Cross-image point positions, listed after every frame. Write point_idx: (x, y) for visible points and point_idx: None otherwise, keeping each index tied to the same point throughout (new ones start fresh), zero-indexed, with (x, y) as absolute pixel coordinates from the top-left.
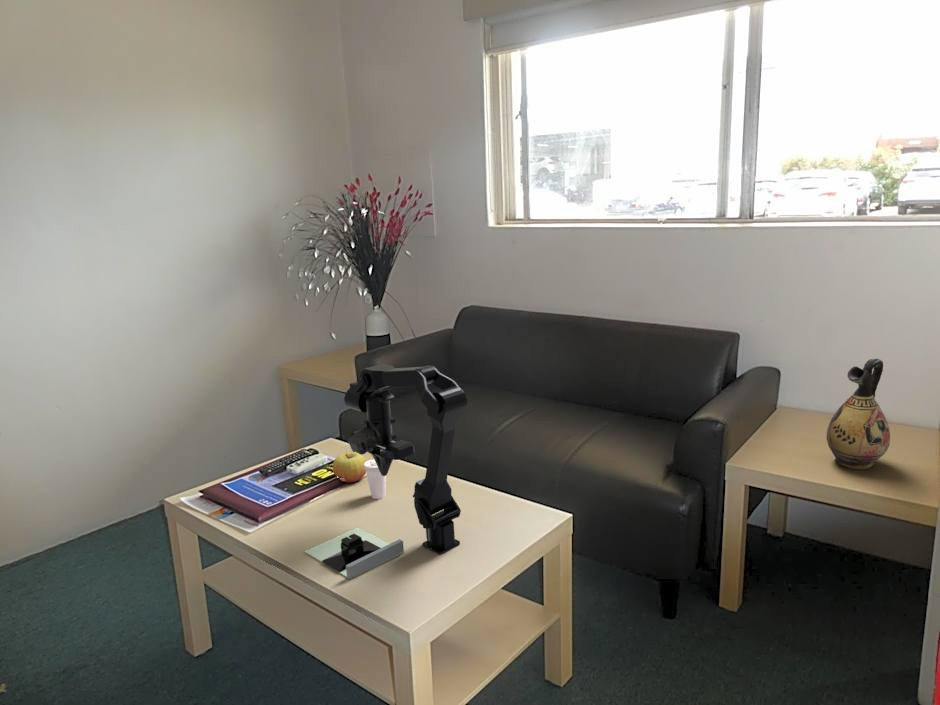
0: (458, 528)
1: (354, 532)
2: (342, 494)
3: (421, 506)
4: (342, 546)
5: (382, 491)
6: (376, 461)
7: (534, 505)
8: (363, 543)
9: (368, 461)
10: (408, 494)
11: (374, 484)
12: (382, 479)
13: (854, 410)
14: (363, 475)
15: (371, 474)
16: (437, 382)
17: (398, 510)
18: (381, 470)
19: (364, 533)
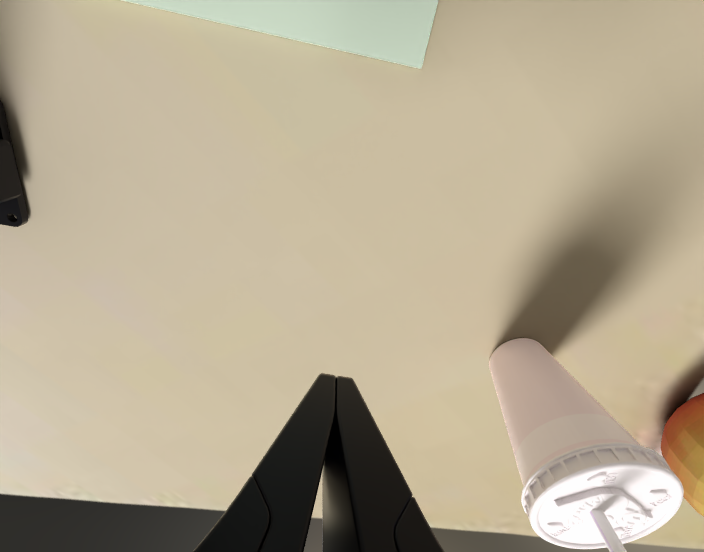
0: (42, 298)
1: (399, 7)
2: (689, 311)
3: None
4: None
5: (498, 376)
6: (399, 528)
7: (14, 493)
8: None
9: (665, 510)
10: (411, 410)
11: (541, 385)
12: (514, 424)
13: None
14: (662, 442)
15: (580, 426)
16: None
17: (360, 307)
18: (323, 415)
19: (338, 29)
